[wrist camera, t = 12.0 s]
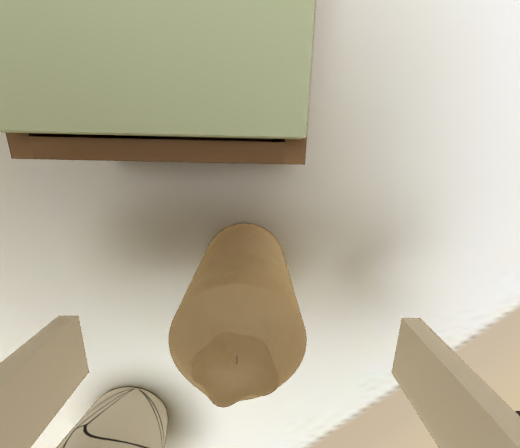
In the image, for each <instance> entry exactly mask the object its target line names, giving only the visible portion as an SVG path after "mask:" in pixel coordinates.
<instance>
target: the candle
mask: <svg viewBox="0 0 520 448" xmlns="http://www.w3.org/2000/svg"><path fill="white" fill-rule="evenodd" d="M169 349H170V353H171V356H172V359H173V361H174V363H175V365H176V367H177V368H178V370H179V371H180V372H181V373H182V374H183V376H184V377H185V378H186V379H187V380H188V381H189V382H190V383H192V384H193V385H194V386H195V387H196V388H198V389H199V390H200V391H201V392H203V393H204V394H205V395H206V396H207V397H208V398H209V399H210V400H211V401H212V403H213V404H215V405H216V406H218V407H228V406H230V405H232V404H234V403H236V402H238V401H242V400H248V399H253V398H257V397H260V396H265V395H268V394H270V393H272V392H273V391H275V390H276V389H277V388H278V387H279V386H281V385H282V384H283V383H284V382H286V381H287V380H288V379H289V378H290V377H291V376H292V375H293V374H294V373H295V371H296V370H297V369H298V367H299V365H300V363H301V362H302V359H303V357H304V354H305V349H306V330H305V327H304V323H303V320H302V316H301V313H300V309H299V306H298V303H297V299H296V296H295V292H294V289H293V286H292V282H291V279H290V275H289V272H288V269H287V265H286V262H285V258H284V255H283V252H282V249H281V247H280V244H279V243H278V241H277V240H276V238H275V237H274V236H273V235H272V234H271V233H270V232H269V231H267V230H266V229H264V228H262V227H260V226H257V225H253V224H246V223H245V224H236V225H232V226H229V227H227V228H225V229H224V230H222V231H221V232H219V233H218V234H217V235H216V236H215V237H214V238H213V240H212V241H211V243H210V245H209V246H208V248H207V250H206V252H205V254H204V256H203V258H202V261H201V263H200V265H199V267H198V269H197V271H196V273H195V275H194V277H193V279H192V281H191V283H190V285H189V287H188V289H187V292H186V294H185V296H184V298H183V300H182V302H181V304H180V306H179V308H178V310H177V312H176V314H175V316H174V319H173V321H172V324H171V327H170V331H169Z"/></svg>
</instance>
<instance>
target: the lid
mask: <svg viewBox="0 0 520 448" xmlns="http://www.w3.org/2000/svg"><path fill="white" fill-rule="evenodd" d="M315 1H316V0H0V132H6V133H47V134H90V135H134V136H177V137H220V138H263V139H303V138H306V137H307V122H308V107H309V92H310V77H311V62H312V47H313V31H314V16H315Z"/></svg>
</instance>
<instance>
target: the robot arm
mask: <svg viewBox="0 0 520 448" xmlns="http://www.w3.org/2000/svg"><path fill="white" fill-rule="evenodd" d="M88 373H89V370H88V365H87V359H86V354H85V349H84V343H83V338H82V333H81V327H80V322H79V316H58V317H57V318H55V319H54V320H53V321H52V322H51V323H49V324H48V325H47V326H46V327H44V328H43V329H42V330H41V331H39V332H38V333H37V334H36V335H35V336H33V337H32V338H31V339H30V340H28V341H27V342H26V343H25V344H23V345H22V346H21V347H20V348H18V349H17V350H16V351H15V352H14V353H12V354H11V355H10V356H9V357H7V358H6V359H5V360H4V361H2V362H1V363H0V448H31V446H32V445H33V444H34V442H35V441H36V440H37V439H38V437H39V436H40V435H41V433H42V432H43V431H44V430H45V428H46V427H47V426H48V424H49V423H50V422H51V420H52V419H53V418H54V417H55V415H56V414H57V413H58V411H59V410H60V409H61V407H62V406H63V405H64V404H65V402H66V401H67V400H68V398H69V397H70V396H71V395H72V393H73V392H74V391H75V389H76V388H77V387H78V385H79V384H80V383H81V382H82V380H83V379H84V378H85V376H86V375H87V374H88ZM392 374H393V376H394V377H395V379H396V381H397V382H398V384H399V385H400V387H401V388H402V390H403V392H404V393H405V395H406V396H407V398H408V399H409V401H410V403H411V404H412V406H413V408H414V409H415V410H416V412H417V414H418V415H419V417H420V419H421V420H422V422H423V423H424V425H425V427H426V428H427V430H428V431H429V433H430V435H431V436H432V438H433V439H434V441H435V443H436V444H437V446H438V447H439V448H520V411H514V410H513V409H512V408H511V407H510V406H509V405H508V404H507V403H506V402H505V401H504V400H503V399H502V398H501V397H500V396H499V395H498V394H497V393H496V392H495V391H494V390H493V389H491V387H490V386H488V385H487V384H486V382H485V381H483V380H482V379H481V378H480V377H479V376H478V375H477V374H476V373H475V372H474V371H473V370H472V369H471V368H470V367H469V366H468V365H467V364H466V363H465V362H464V361H463V360H462V359H461V358H460V357H459V356H458V355H457V354H456V353H455V352H454V351H453V350H452V349H451V348H450V347H449V346H448V345H447V344H446V343H445V342H444V341H443V340H442V339H441V338H440V337H439V336H438V335H437V334H436V333H435V332H434V331H433V330H432V329H431V328H430V327H429V326H428V325H427V324H426V323H424V322H423V321H422V320H421V319H420V318H402V320H401V325H400V331H399V336H398V341H397V347H396V352H395V357H394V363H393V368H392Z"/></svg>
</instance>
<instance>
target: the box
mask: <svg viewBox="0 0 520 448" xmlns="http://www.w3.org/2000/svg"><path fill="white" fill-rule="evenodd" d="M315 3H316V1H315ZM314 18H315V16H314ZM313 33H314V31H313ZM312 48H313V47H312ZM311 64H312V62H311ZM310 79H311V77H310ZM309 94H310V92H309ZM308 109H309V107H308ZM307 124H308V122H307ZM6 136H7V140H8V145H9V149H10V153H11V158H12V159H59V160H109V161H158V162H207V163H257V164H305V154H306V139H307V137H306V138H303V139H263V138H220V137H177V136H134V135H90V134H47V133H6Z"/></svg>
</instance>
